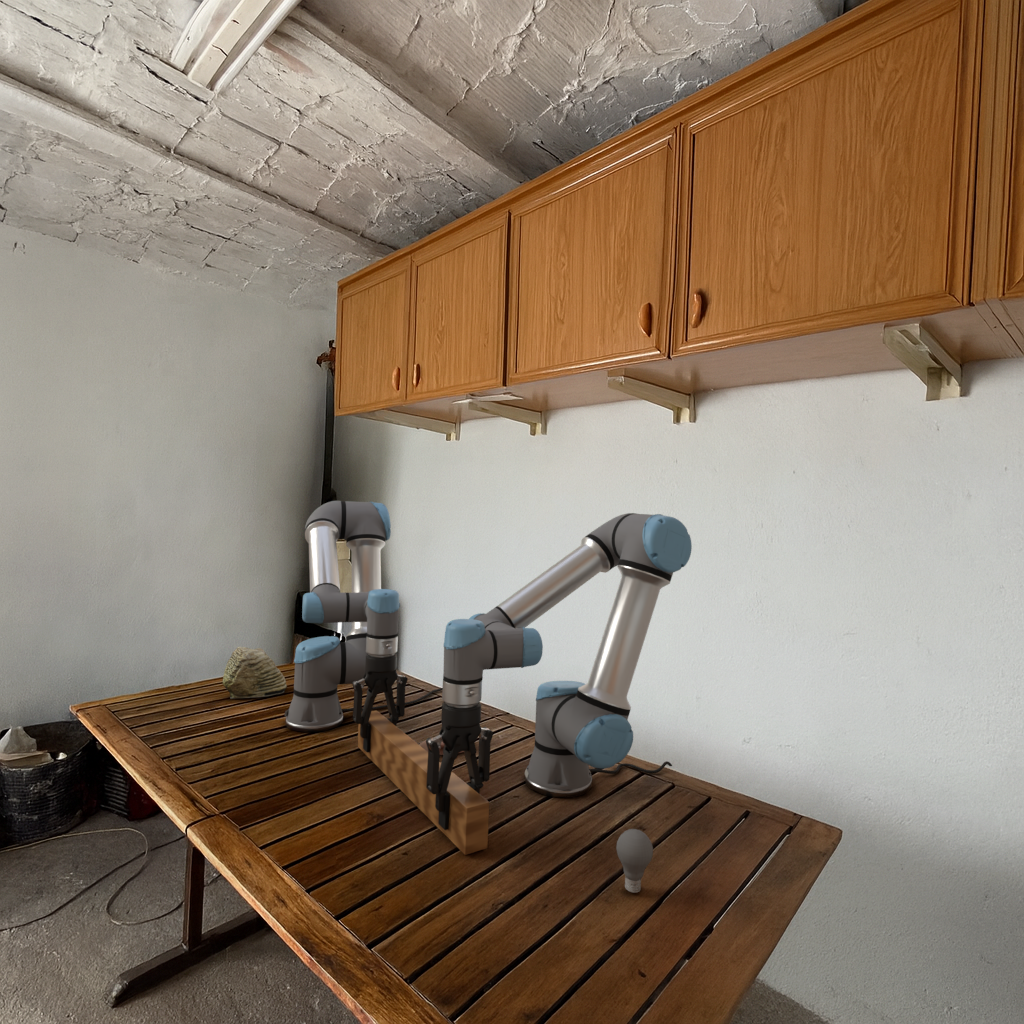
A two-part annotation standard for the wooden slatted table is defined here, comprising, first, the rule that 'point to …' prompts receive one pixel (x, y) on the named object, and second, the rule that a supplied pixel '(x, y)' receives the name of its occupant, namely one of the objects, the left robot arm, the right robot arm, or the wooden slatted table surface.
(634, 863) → the light bulb
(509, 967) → the wooden slatted table surface
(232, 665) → the fossil
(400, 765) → the post
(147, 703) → the wooden slatted table surface
